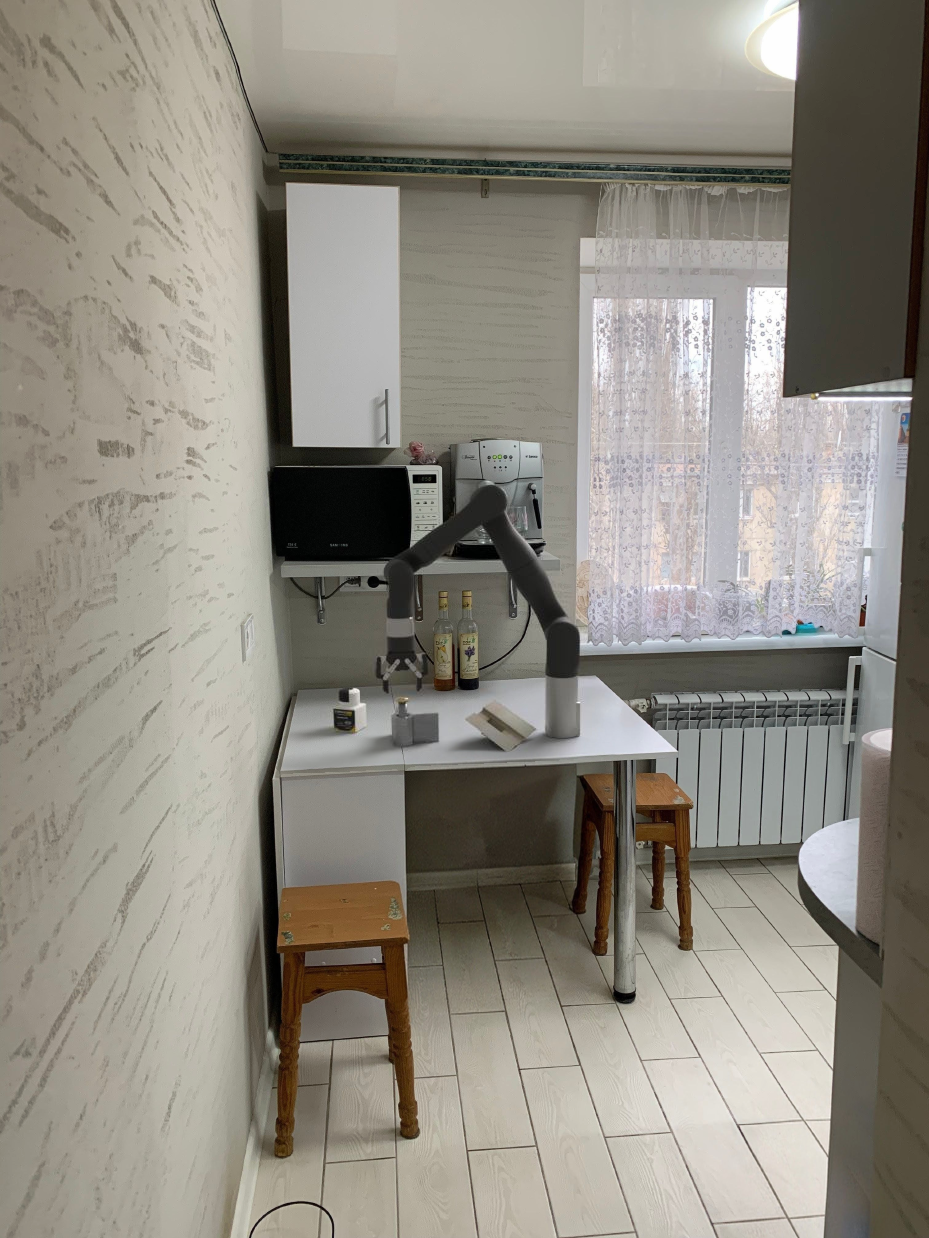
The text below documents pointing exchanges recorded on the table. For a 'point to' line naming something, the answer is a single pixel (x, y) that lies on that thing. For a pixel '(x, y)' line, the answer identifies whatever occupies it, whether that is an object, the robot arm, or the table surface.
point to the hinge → (414, 728)
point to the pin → (402, 706)
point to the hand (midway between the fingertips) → (402, 691)
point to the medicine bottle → (349, 711)
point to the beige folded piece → (501, 725)
